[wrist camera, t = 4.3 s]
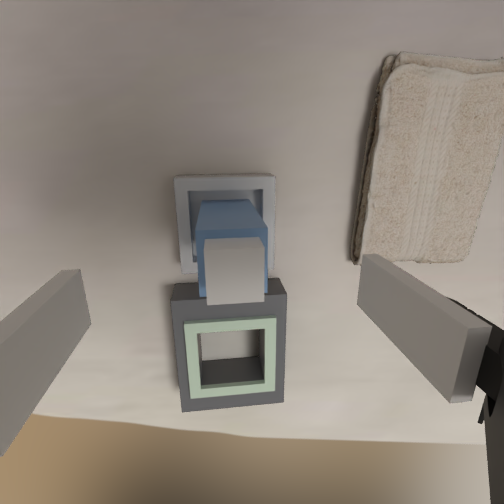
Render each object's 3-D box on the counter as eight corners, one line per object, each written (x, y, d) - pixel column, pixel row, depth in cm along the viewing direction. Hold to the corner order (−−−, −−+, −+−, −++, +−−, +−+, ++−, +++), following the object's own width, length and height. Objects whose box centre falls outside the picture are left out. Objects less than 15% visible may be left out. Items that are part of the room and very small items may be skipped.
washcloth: (501, 64, 27) (536, 54, 24) (454, 258, 33) (477, 269, 30) (371, 56, 26) (392, 44, 23) (345, 260, 31) (359, 272, 28)
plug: (201, 200, 26) (192, 241, 15) (248, 199, 27) (274, 237, 15) (204, 245, 27) (197, 314, 16) (249, 243, 28) (273, 309, 17)
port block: (175, 283, 29) (169, 304, 26) (279, 278, 30) (288, 296, 27) (185, 386, 33) (181, 416, 29) (276, 377, 34) (284, 406, 31)
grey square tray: (177, 175, 26) (173, 178, 24) (270, 173, 27) (275, 176, 25) (184, 263, 29) (181, 273, 26) (269, 259, 30) (274, 269, 27)
